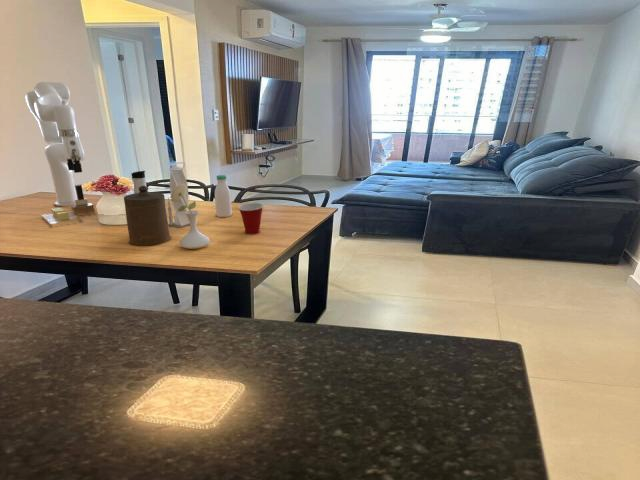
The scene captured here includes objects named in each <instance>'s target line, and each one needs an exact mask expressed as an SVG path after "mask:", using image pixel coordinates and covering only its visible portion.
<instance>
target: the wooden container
mask: <svg viewBox="0 0 640 480" xmlns="http://www.w3.org/2000/svg"><path fill="white" fill-rule="evenodd" d="M146 186H147V185H146ZM146 186H141V187H139V191H140V192H139V193H135V194H134V193H130V194H127V195H125V196H123V202H124V209H125V210H124V211H125V219H126V225H127V226H126V227H127V232H128V238H129V243H130V244H132V245H135V246H141V247H142V246H143V247H145V246H153V245H160V244H162V243H165V242H167V241H169V240H170V239H171V237H170V229H169V225H168V224H169V219H168V215H167V209H166V207H167V206H166V197H165V194H164V193H162V192H155V191H153V192H152V191H149V187H148V186H147V187H146Z"/></svg>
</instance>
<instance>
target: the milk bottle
mask: <svg viewBox="0 0 640 480" xmlns="http://www.w3.org/2000/svg"><path fill="white" fill-rule="evenodd" d="M216 181H217V183H216V186H215V189H214V207H215V216H216V217H219V218H227V217H228V218H229V217H232V215H233V209H232V194H231V189H230V187H229V186H228V183H227V175H225V174H218V175H216Z"/></svg>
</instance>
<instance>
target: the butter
mask: <svg viewBox="0 0 640 480" xmlns="http://www.w3.org/2000/svg"><path fill="white" fill-rule="evenodd" d="M65 211H66V210H65V209H64V208H62V207H54V208H51V214H52V213H53V215H54V216H55V217H56V218H58V217H57V213H60V212H65Z"/></svg>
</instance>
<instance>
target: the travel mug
mask: <svg viewBox="0 0 640 480" xmlns="http://www.w3.org/2000/svg"><path fill="white" fill-rule="evenodd" d="M145 173H146V170H138V171H133V172H131V173H130V175H131V181H134V189H133V194H135V193H139V192H140V191H139V187H141V186H146V187H148V186H147V179H146V174H145Z"/></svg>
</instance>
